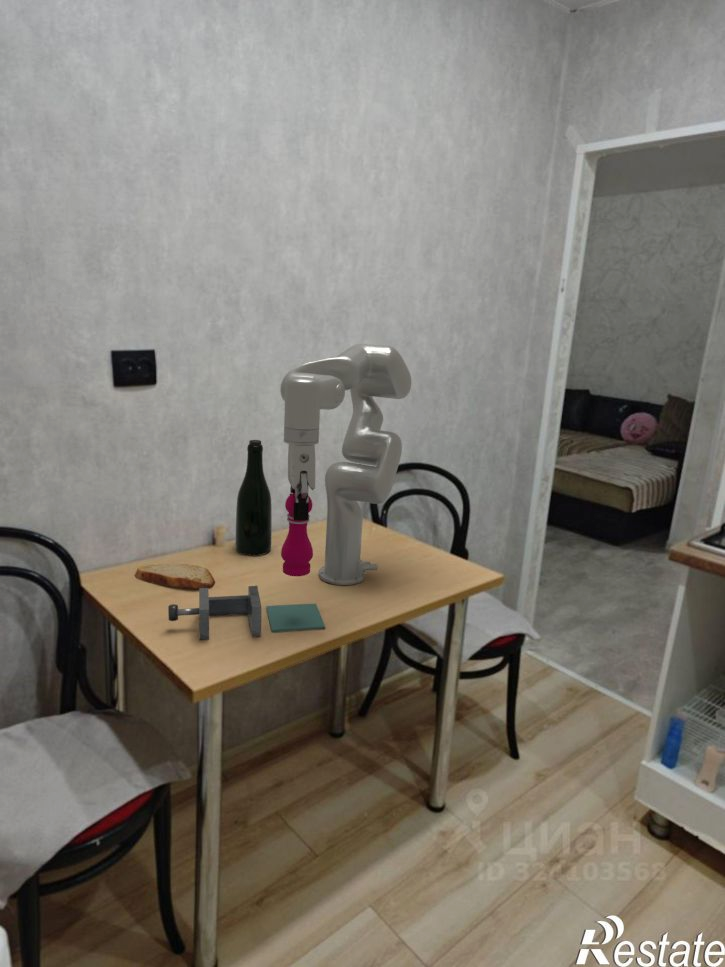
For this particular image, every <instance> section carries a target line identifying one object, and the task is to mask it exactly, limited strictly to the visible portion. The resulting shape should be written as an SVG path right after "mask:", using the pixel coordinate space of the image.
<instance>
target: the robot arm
mask: <svg viewBox="0 0 725 967" xmlns="http://www.w3.org/2000/svg"><path fill="white" fill-rule="evenodd" d="M411 388H412V376H411V372H410V370H409V368H408V367H407V364H406V362H405V360H404V359H403V356H402V355H401V354H400V351H398V350H397V349H396V348H394V347H393V346H391V345H383V344H381V345H380V344H378V345H377V344H368V343H358V344H355V345H354V344H353V345H352V346H350V347H349V348H347V349H346V350H344V351H342V352H340V353H339V354H338V355H336V356H335V357H329V358H323V359H319V360H316V361H310V362H306V363H302V364H300V365H298V366H295V367H294V368H292V369H291V370H290V371H288V372H287V373H286V374H285V376H284V377H283V378H282V381H281V383H280V395H281V398H282V400H283V401H284V415H283V416H284V418H283V419H284V424H283V443H285V444H288V447H287V448H288V454H287V478H288V482H289V484H290V489H289V492H290V493H289V496H290V495H291V494H293V493H295V502H294V513H293V519H294V520H295V521H297V520H308V514H310V512H309V497H310V496H309V489H310V490H312V491H313V490H315V489H316V448H315V446H316V445H318V444H319V439H320V438H319V436H320V422H321V421H320V420H321V419H320V416H321V415H320V414H321V410H325V411H326V410H328V411H329V410H334V409H336V408H338V407H339V406H340V405H342V403H343V402H344V399H345V394H346V391H348V390H349V391H350V397H351V403H352V414H351V419H350V421H349V424H348V427H347V430H346V433H345V436H344V439H343V441H342V446H341V453H342V456H343V458H344V459H345V460H347V462H346V461H338V462H334V463H332V464H330V465H329V466H328V468H327V469H326V471H325V475H324V487H325V492H326V508H327V510H326V530H325V531H326V532H325V550H324V566H322V567H320V569H318V578H319V579H320V580H322V581H323V582H325V583H329V584H332V585H336V586H337V585H338V586H349V585H356V584H359V583H361V582H363V581H364V580H365V576H366V572H368V571H370V572H372V571H373V572H374V571H377V570H378V564H377V563H371V561H370V560H365V561H362V560H361V552H362V536H363V535H362V534H363V519H364V517H363V511H362V509H361V506H360V504H359V502H361V503H369V504H373V505H374V504H376V505H380V504H381V505H382V504H384V503H386V501H387V500H388V499H389V497H390V494H391V491H392V488H393V485H394V481H395V479H396V475H397V471H398V468H399V465H400V461H401V457H402V452H403V444H402V439H401V437H400V436H399V435H398V434H397V433H395V432H393V431H389V430H381V429H382V425H383V422H384V415H383V413H382V410H381V408H380V407H379V405H378V404H377V402H376V401H375V399H374V397H375V398H384V399H393V400H402V399H404V398H406V397H407V396H408V395H409V394H410V391H411ZM299 486H300V487H301V488H297V487H299ZM298 492H301V493H299V494H298ZM298 495H299V496H298Z"/></svg>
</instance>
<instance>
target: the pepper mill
mask: <svg viewBox="0 0 725 967" xmlns="http://www.w3.org/2000/svg"><path fill="white" fill-rule="evenodd" d="M297 488H301V487H300V486H299V487H297ZM299 493H301V492H298V494H299ZM290 494H291V495H290ZM290 494H289V495H288V496H287V497H286V498H285V505H284V508H285V510H286V511H287V515H286V516H287V519H286V520H287V522H288V533H287V536H286V537H285V540H284V542H283V544H282V545H281V546H282V547H281V550H280V556H281V558H282V560H283V561H284V562H283V563H282V572H283V574H284V575H287V576H289V577H294V578H295V577H298V578H299V577H305V576H307V575H309V574H310V573H311V563H310V561H311V560H312V559H313V556H314V549H313V546H312V543H311V541H310V538H309V535H308V523H309V522H310V520H311V519H310V516H311V515H310V512H311V511H312V510H313V500H312V499H311V497H310V496H309V513H308V520H297V521H295V520H294V519H293V513H294V502H295V493H290ZM298 496H299V495H298Z"/></svg>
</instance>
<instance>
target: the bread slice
mask: <svg viewBox="0 0 725 967" xmlns="http://www.w3.org/2000/svg"><path fill="white" fill-rule="evenodd" d="M134 576H135V577H136V578H135V577H134V578H135V579H139V580H140V579H141V580H140V581H143V582H147V583H151V584H153V585H160V586H162V587H169V588H174V589H182V590H192V591H199V588H208V590H210V589H212V588H213V587H214V586H215V584H216V581H215V578H214V576H213V575H212V573H211V572H210V571H209V569H207V568H206V567H202V566H199V565H194V564H187V563H178V564H174V563H163V564H162V563H159V564H150V565H144V566H141V567H138V568H137V569H136V571H135V573H134Z"/></svg>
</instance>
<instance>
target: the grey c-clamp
mask: <svg viewBox="0 0 725 967" xmlns="http://www.w3.org/2000/svg"><path fill="white" fill-rule="evenodd" d="M198 593H199V594H198V595H199V599H198V600H199V602H198V603H199V604H198V607H197V608H195V607H194V608H191V607H190V608H179V605H178V604H176V603H175V604H170V605H168V606H167V607H168V611H167V612H168V621H170V622H176V621H178V620H179V616H196V615H197V616H198V618H199V619H198V620H199V621H198V622H199V623H198V624H199V629H198V630H199V631H198V633H199V635H198V637H199V639H198V640H199V641H202V640H203V641H207V640H210V617H214V616H215V617H216V616H217V617H218V616H233V615H234V616H235V615H247V616H248V622H249V628H250V630H249V631H250V635H251V638H252V637H254V636H255V637H262V602H261V597H260V592H259V587H258V585H248V593H247V595H228V596H227V595H225V596H209V589H208V588H199V590H198Z"/></svg>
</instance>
